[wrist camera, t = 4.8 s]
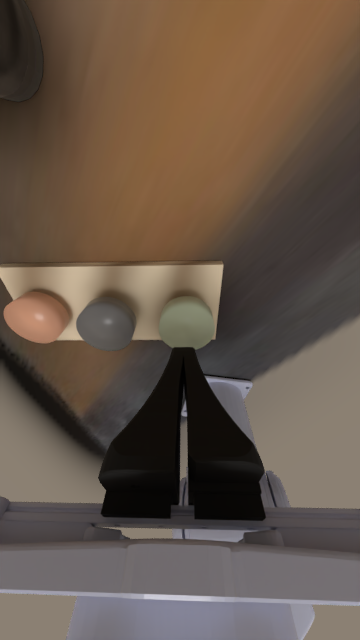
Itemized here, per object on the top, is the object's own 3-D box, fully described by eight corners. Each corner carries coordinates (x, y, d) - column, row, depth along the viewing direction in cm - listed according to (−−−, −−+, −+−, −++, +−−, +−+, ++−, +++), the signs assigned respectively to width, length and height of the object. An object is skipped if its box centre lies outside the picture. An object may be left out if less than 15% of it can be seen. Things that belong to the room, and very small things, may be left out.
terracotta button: (63, 287, 17) (47, 300, 15) (79, 327, 20) (67, 343, 18) (14, 287, 17) (-8, 301, 15) (36, 327, 20) (20, 343, 18)
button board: (221, 260, 17) (223, 264, 16) (213, 333, 21) (215, 339, 20) (3, 263, 17) (-6, 267, 16) (42, 334, 22) (37, 340, 21)
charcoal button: (134, 291, 16) (127, 307, 14) (141, 333, 19) (136, 350, 17) (81, 292, 16) (67, 307, 14) (96, 333, 19) (85, 350, 17)
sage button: (213, 291, 16) (217, 306, 14) (209, 332, 18) (212, 350, 17) (159, 291, 16) (156, 306, 14) (163, 333, 19) (160, 350, 17)
